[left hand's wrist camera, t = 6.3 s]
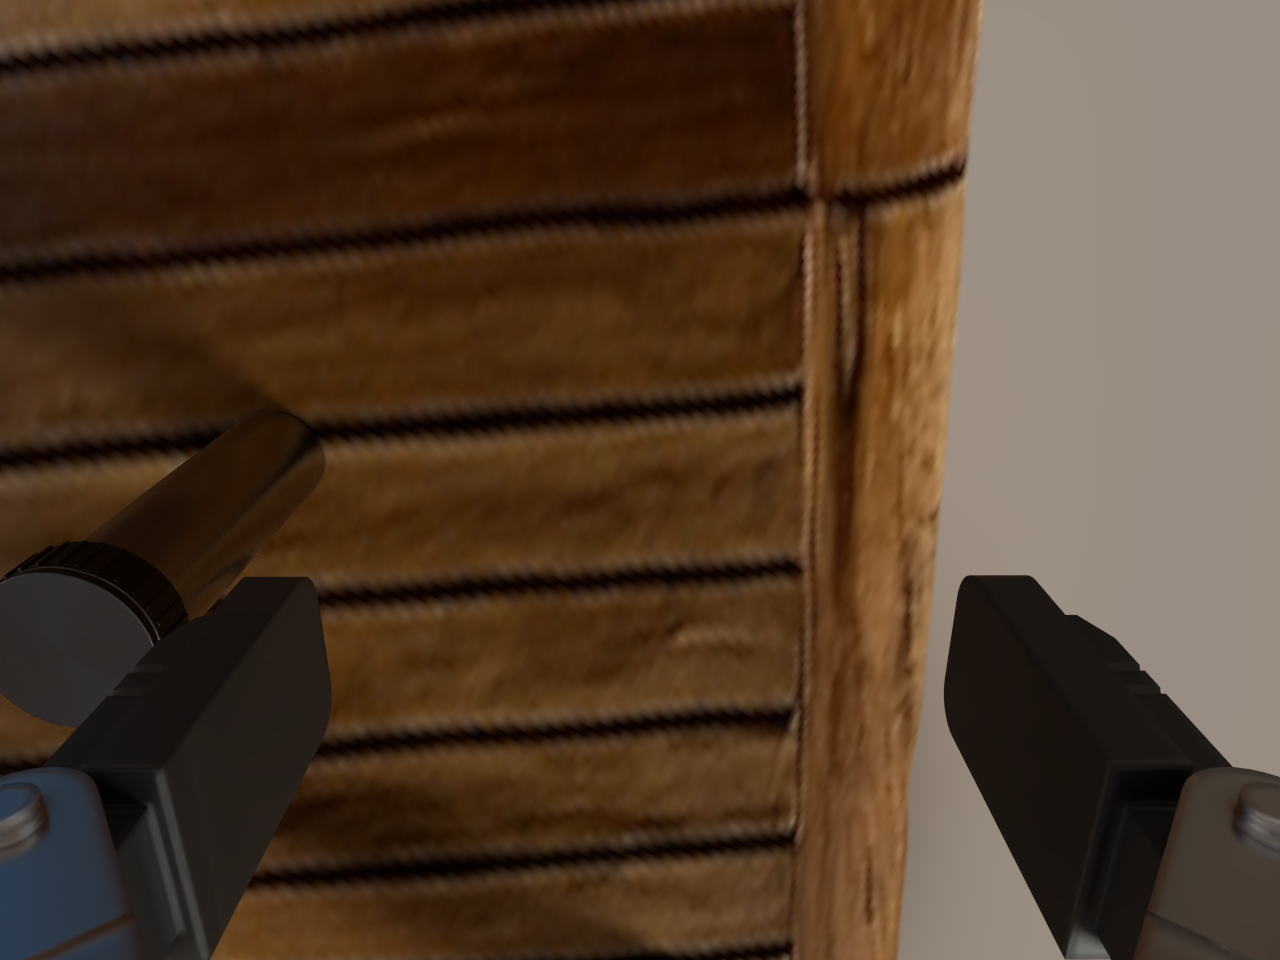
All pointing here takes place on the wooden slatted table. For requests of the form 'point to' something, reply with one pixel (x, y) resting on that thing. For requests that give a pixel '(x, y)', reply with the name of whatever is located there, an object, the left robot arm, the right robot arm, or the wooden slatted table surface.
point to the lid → (79, 626)
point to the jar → (220, 506)
